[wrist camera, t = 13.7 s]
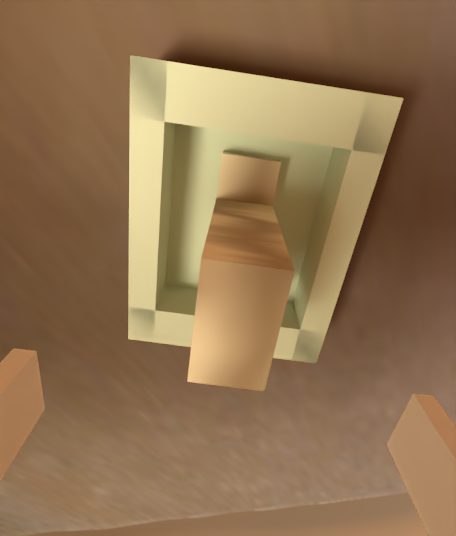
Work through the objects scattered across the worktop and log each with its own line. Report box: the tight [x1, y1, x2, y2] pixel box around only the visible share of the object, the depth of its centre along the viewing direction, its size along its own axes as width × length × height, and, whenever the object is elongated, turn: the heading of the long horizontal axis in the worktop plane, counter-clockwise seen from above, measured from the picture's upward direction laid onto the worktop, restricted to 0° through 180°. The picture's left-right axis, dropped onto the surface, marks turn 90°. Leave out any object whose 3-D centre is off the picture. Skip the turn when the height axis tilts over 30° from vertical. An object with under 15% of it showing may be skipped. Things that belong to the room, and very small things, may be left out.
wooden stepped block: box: [187, 151, 295, 391], centre depth 20 cm, size 4×10×12 cm, turn 172°
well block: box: [128, 55, 404, 363], centre depth 24 cm, size 15×19×5 cm
